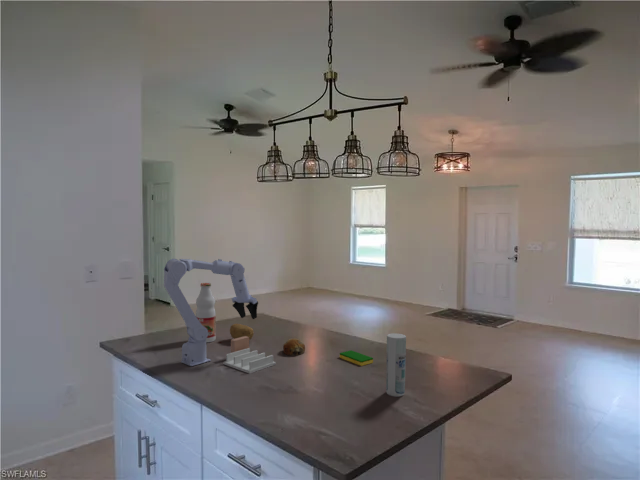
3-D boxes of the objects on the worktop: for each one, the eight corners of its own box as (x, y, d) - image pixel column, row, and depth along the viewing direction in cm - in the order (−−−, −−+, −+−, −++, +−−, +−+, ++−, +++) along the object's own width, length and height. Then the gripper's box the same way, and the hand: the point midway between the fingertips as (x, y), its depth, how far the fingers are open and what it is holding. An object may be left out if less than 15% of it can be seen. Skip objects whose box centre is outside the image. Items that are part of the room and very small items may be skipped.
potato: (243, 346, 205) (243, 329, 205) (224, 340, 214) (224, 324, 214) (259, 341, 212) (259, 325, 212) (240, 336, 222) (240, 320, 221)
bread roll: (305, 358, 199) (306, 340, 202) (303, 355, 190) (304, 336, 193) (284, 357, 200) (285, 340, 203) (280, 354, 191) (282, 335, 194)
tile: (234, 359, 186) (234, 340, 185) (230, 358, 187) (230, 339, 187) (249, 355, 192) (249, 337, 191) (245, 353, 193) (245, 336, 193)
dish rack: (249, 373, 169) (249, 363, 169) (223, 364, 179) (223, 354, 179) (275, 364, 180) (275, 354, 179) (249, 356, 190) (250, 347, 190)
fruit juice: (219, 338, 217) (219, 282, 215) (208, 344, 208) (208, 285, 207) (203, 337, 220) (203, 281, 219) (191, 341, 211) (191, 284, 210)
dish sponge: (361, 367, 179) (361, 361, 179) (339, 358, 190) (339, 352, 190) (373, 363, 183) (373, 357, 183) (351, 355, 194) (351, 350, 194)
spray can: (391, 387, 156) (392, 332, 155) (408, 392, 152) (409, 335, 151) (382, 393, 151) (383, 335, 150) (399, 398, 147) (400, 339, 146)
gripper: (258, 285, 190) (266, 314, 192) (237, 285, 199) (245, 312, 202) (246, 292, 184) (254, 321, 187) (225, 291, 194) (233, 319, 196)
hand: (249, 317), depth 194 cm, fingers open, 7 cm apart
